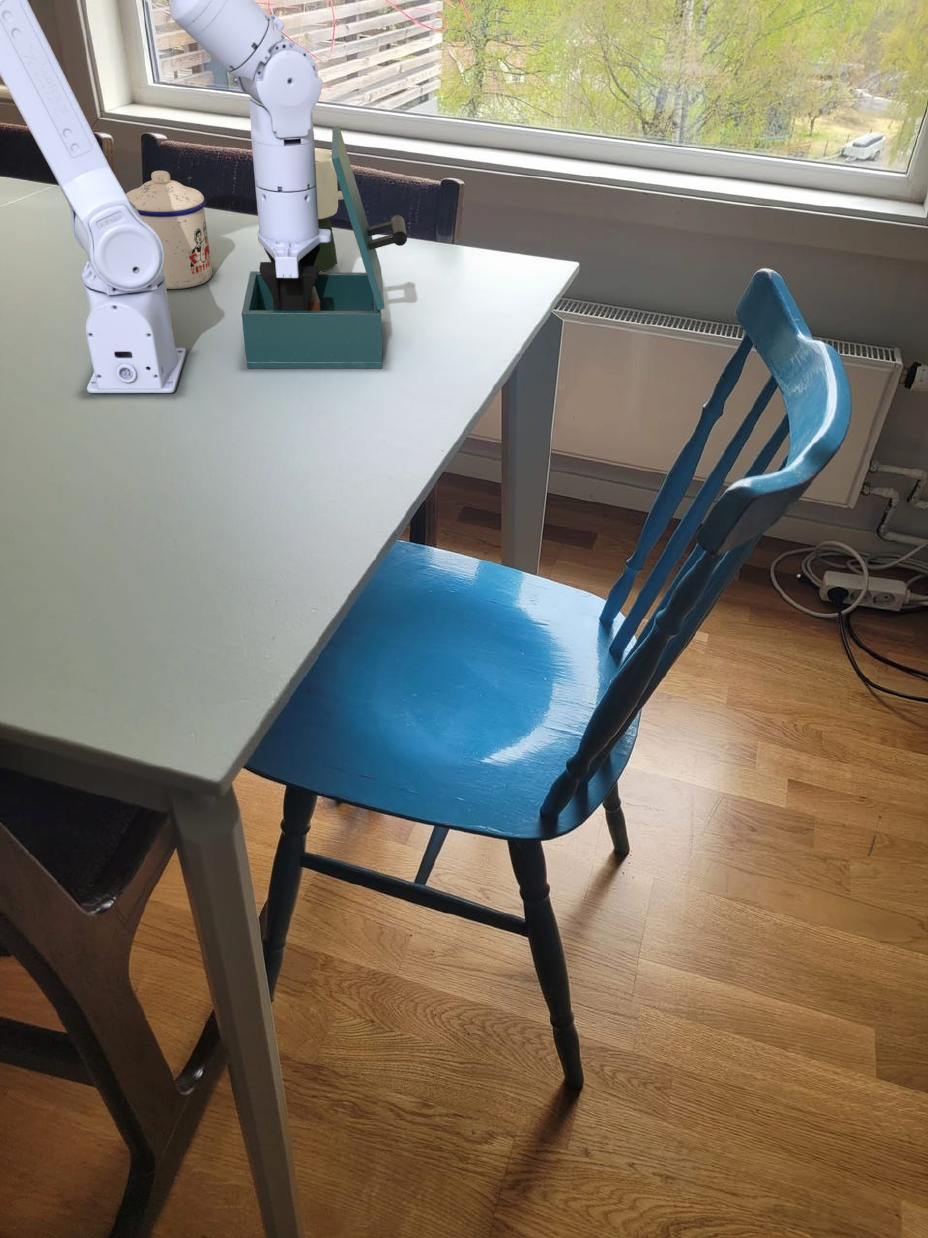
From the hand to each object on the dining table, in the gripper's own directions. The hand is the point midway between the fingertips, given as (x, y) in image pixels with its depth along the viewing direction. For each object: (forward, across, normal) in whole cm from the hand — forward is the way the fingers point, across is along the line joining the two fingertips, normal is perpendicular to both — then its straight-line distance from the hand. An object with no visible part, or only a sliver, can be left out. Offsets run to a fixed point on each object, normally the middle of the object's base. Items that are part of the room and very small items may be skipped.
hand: (295, 323), depth 99 cm
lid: (-10, 0, -6) cm, 12 cm away
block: (+1, 0, 0) cm, 1 cm away
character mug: (+3, +23, -1) cm, 23 cm away
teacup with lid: (+2, +21, +15) cm, 26 cm away
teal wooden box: (+2, 0, -2) cm, 3 cm away
